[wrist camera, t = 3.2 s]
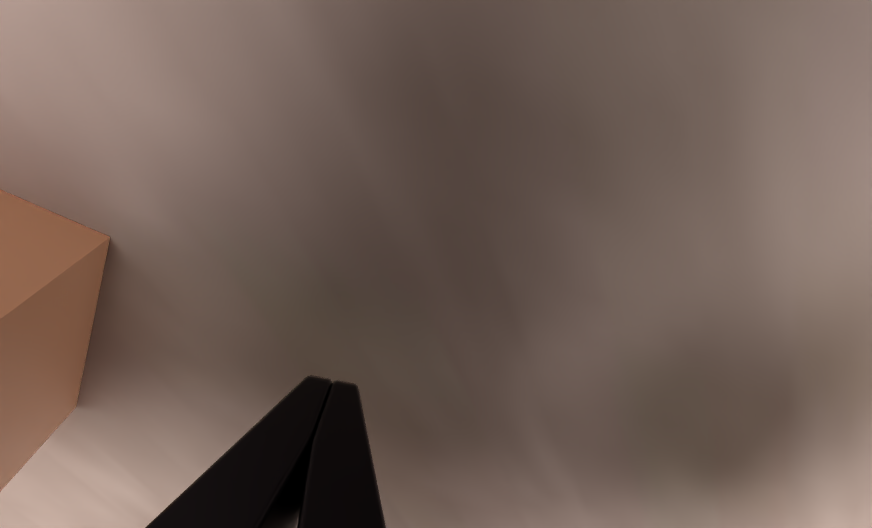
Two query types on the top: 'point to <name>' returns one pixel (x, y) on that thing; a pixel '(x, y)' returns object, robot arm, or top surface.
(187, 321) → the top surface
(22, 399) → the peach cardboard box
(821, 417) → the top surface
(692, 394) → the top surface
